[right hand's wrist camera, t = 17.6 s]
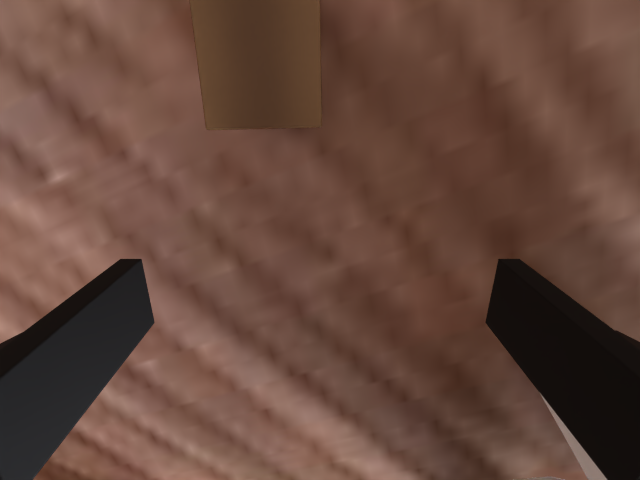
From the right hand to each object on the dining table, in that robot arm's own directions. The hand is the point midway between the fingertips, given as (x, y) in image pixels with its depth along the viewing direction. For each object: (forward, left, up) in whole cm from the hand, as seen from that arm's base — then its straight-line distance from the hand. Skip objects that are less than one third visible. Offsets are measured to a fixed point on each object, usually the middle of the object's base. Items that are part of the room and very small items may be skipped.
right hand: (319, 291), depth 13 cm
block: (+10, +3, -16) cm, 19 cm away
